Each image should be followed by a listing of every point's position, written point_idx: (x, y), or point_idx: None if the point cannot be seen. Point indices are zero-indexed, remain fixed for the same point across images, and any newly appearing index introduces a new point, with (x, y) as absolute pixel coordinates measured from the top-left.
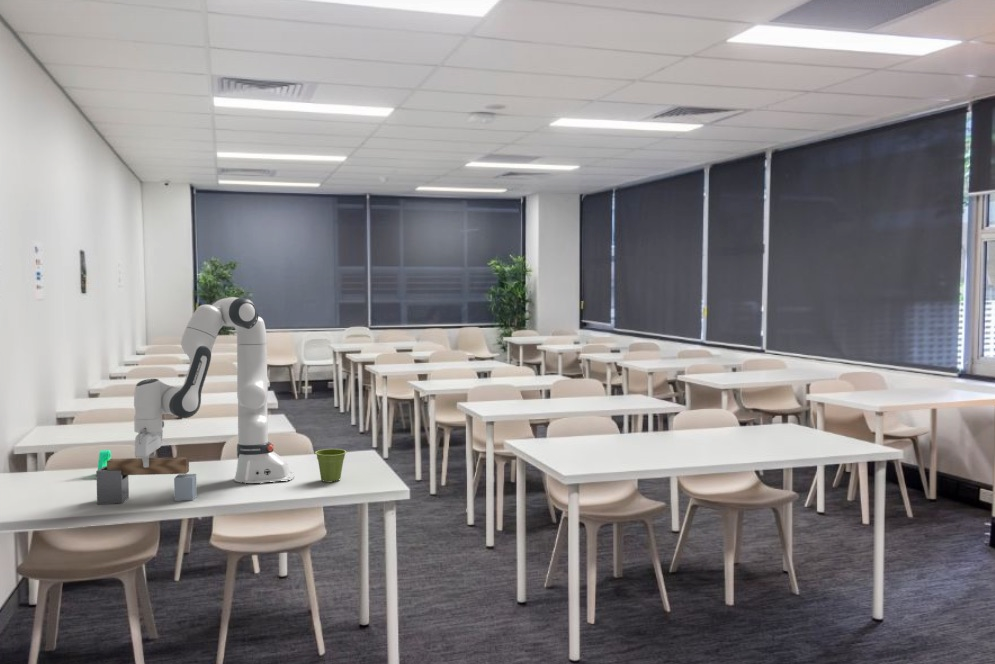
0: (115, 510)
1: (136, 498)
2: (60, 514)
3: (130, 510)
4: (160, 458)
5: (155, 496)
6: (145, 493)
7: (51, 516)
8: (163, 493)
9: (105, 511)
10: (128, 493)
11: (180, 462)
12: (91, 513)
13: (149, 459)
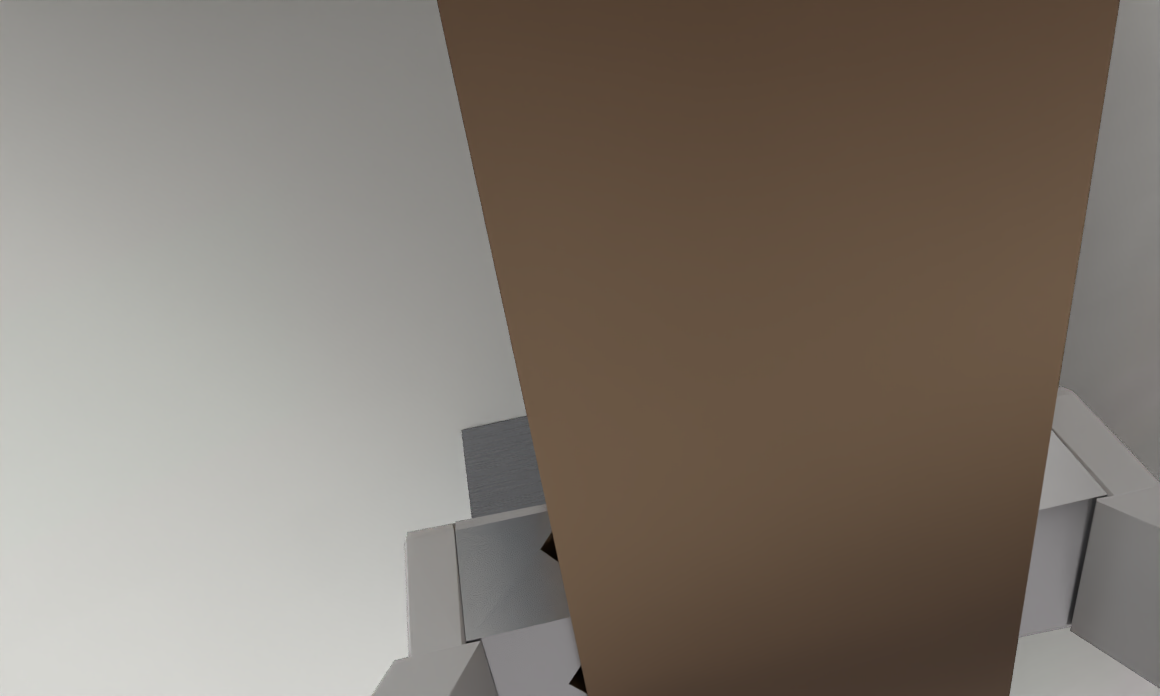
0: (1092, 272)
1: (473, 328)
2: (1091, 658)
3: (1155, 78)
4: (695, 356)
5: (317, 106)
6: (154, 353)
7: (1138, 679)
8: (75, 64)
9: (1105, 357)
10: (479, 473)
11: None
12: (1147, 446)
13: (869, 624)
